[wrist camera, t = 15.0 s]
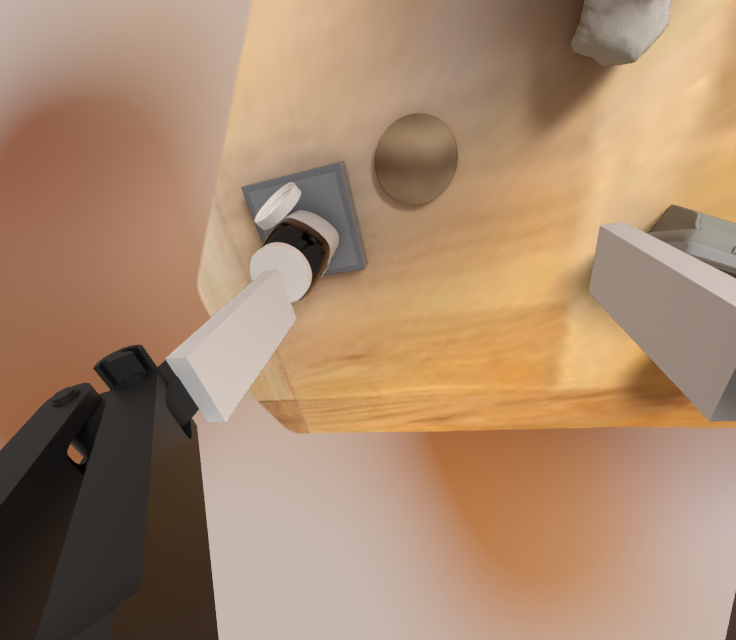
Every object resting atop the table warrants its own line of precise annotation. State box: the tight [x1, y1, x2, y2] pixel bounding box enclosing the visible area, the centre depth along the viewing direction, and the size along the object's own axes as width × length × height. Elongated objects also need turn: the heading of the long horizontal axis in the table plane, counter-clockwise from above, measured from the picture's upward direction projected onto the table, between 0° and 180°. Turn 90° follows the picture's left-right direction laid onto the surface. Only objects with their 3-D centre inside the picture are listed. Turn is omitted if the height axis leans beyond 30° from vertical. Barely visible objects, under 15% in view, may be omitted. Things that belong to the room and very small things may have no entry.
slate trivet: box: [241, 161, 368, 275], centre depth 44 cm, size 14×14×3 cm
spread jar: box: [249, 182, 339, 303], centre depth 39 cm, size 12×11×12 cm
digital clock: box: [647, 205, 736, 276], centre depth 35 cm, size 16×9×11 cm, turn 64°
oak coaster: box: [375, 114, 458, 205], centre depth 39 cm, size 10×10×1 cm
